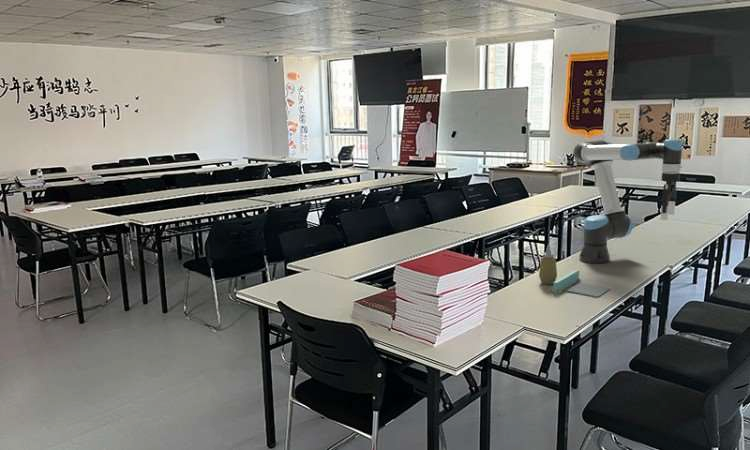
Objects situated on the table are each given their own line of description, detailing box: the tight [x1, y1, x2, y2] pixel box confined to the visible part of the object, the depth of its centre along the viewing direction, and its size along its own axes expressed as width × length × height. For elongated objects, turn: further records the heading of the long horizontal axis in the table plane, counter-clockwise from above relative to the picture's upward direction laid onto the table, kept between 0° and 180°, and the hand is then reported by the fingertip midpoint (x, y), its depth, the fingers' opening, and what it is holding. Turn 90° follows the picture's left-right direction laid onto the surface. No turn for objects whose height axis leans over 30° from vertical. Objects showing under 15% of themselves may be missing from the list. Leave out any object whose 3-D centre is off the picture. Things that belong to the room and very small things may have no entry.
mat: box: [565, 282, 611, 299], centre depth 247 cm, size 14×14×1 cm
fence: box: [550, 269, 582, 295], centre depth 253 cm, size 4×24×5 cm, turn 138°
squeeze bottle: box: [538, 245, 558, 286], centre depth 258 cm, size 8×8×18 cm
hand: (667, 217), depth 263 cm, fingers open, 13 cm apart
